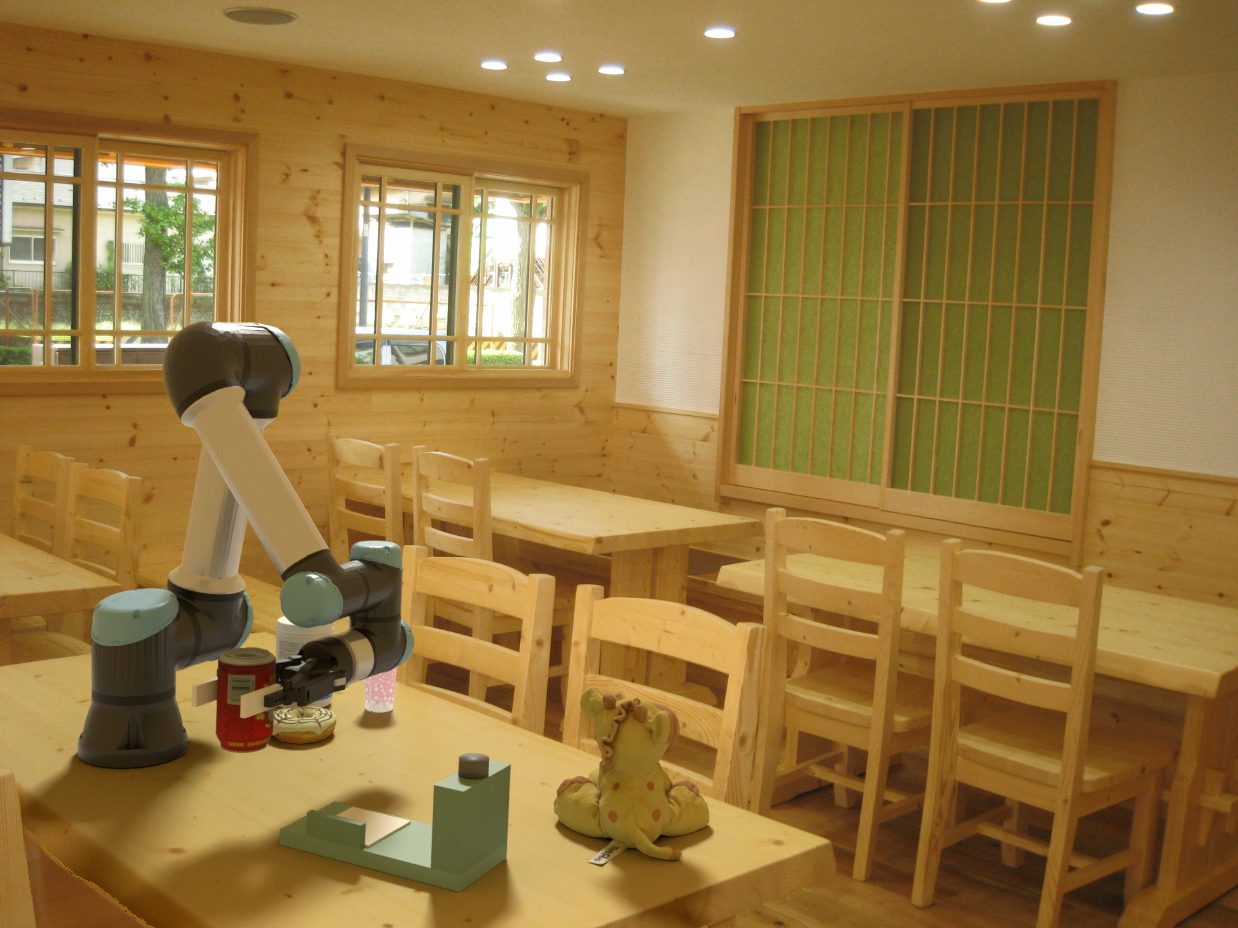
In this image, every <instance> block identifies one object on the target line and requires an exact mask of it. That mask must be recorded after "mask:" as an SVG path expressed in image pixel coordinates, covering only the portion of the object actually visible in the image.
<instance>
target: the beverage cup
mask: <svg viewBox="0 0 1238 928" xmlns="http://www.w3.org/2000/svg"><path fill="white" fill-rule="evenodd" d="M397 670H398V667H396V668H394V669H392V670H391V671H388V672H385V673H380V674H377V675H374V676H371V677H368V678H365V679H364V699H365V700H364V701H365V702H364V703H365V709H366V711H368V712H371V711H373V712H372V713H386V712H387V711H388V712H390V711H393V709H394V701H395V691H396V681H397V673H398V671H397ZM388 712H387V713H388Z"/></svg>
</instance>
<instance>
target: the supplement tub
mask: <svg viewBox="0 0 1238 928" xmlns="http://www.w3.org/2000/svg"><path fill="white" fill-rule="evenodd" d="M276 623H277V624H276V631H275V657H276V660H281V659H287V658H288V657H290V656H296V655H297V654H298V652H299V651H300V649H301V648H302V647H303V646H304V645H305V644H306V643H308V642H310V641H313V640H316V639H319V638H323V637H326V636H329V635H331V634H334V633H335V626H334V622H333V623H331V624H327V625H322V626H316V627H311V628H302V627H298V626H296V625H294V624H292V623H291V622H290V621H289V620H288V619H287V618H286V617H285V616H284V615H283V616H281V617H279V618H278V619H277V622H276ZM279 681H280V679H279ZM281 689H283V687H281ZM333 694H334V693H332V694H329V695H327V696H325V697H323V698H321V699H319V700H317V701H315V702H313V703H311V704H309V705H307V706H317V707H321V708H326V707H327V706H329V705H330V704H331V703H332V701H333V696H334V695H333ZM289 706H297V702H294V703H293V704H291V705H288V706H286V705H283V704H282V705H280V706H279V707H280V708H281V709H282V708H284V707H289Z"/></svg>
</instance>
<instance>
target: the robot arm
mask: <svg viewBox="0 0 1238 928" xmlns="http://www.w3.org/2000/svg"><path fill="white" fill-rule="evenodd" d="M301 368H302V366H301V359H300V355H299V352H298V349H297V347H296V346H295V345H294V343H293V340H292V339H291V338H290V337H289V336H288V335H287V334H286V332H284V331H283V330H281V329H280V328H278V327H275V326H271V325H268V324H262V323H258V322H250V321H249V322H237V321H235V322H229V321H228V322H227V321H213V320H204V321H203V320H202V321H197V322H194V323H191V324H189V325H187V326H183V328H181V329H180V330H178V331H177V333H176V334H174V336H173V337H171V340H170V341H169V343H168V345H167V347H166V349H165V351H164V355H163V359H162V379H163V383H164V386H165V390H166V391H165V392H166V394H167V396H168V399H169V401H170V403H171V405H172V407H173V410H174V411H175V413H176V414H177V416H178V418H179V420H180V422H181V423H182V425H184V426H185V427H187V428H188V427H189V428H193V429H194V430H195V432H196V435H198V438H199V440H201V442H202V444H201V448H200V456H199V462H198V467H197V472H196V479H195V483H194V490H193V496H192V502H191V505H190V511H189V512H190V513H189V518H188V524H187V529H186V534H185V540H184V544H183V545H184V546H183V552H182V558H181V563H180V564H179V565H178V566H177V567H175V568H173V569H172V570H171V571H169V572H168V577H167V581H166V582H167V583H166V587H165V589H164V588H157V587H155V588H154V587H150V588H149V587H148V588H137V589H136V590H132V589H129V590H124V591H121V592H117V593H113V594H111V595H109V596H106V597H105V598H104V597H103V599H101V600H100V601H99V602H97V604H96V606H95V607H94V610H93V612H92V613H93V614H92V625H91V629H90V637H91V697H90V699H91V700H90V701H91V702H90V706H89V709H88V713H87V715H86V717H85V721H84V726H83V730H82V731H81V733H80V734H79V737H78V739H77V757H78V758H79V759H80V760H81V761H82V762H84V763H86V764H89V765H92V766H96V767H102V768H103V767H104V768H111V769H115V768H117V769H119V768H121V769H123V768H124V769H126V768H142V767H148V766H149V767H150V766H153V765H159V764H163V763H166V762H170V761H173V760H175V759H178V758H179V757H181V756H182V755H183V754H185V753H186V752H187V750H188V732H187V729H186V728H185V726H184V724H183V718H182V715H181V710H180V707H179V705H178V701H177V698H176V697H177V695H176V693H177V692H176V691H177V689H176V686H177V672H178V671H181V670H186V669H188V668H191V667H195V666H197V665H200V664H203V663H206V662H214V661H218V659H219V657H220V655H222V654H223V653H225V652H226V651H228V650H229V649H233V648H242V647H243V645H244V644H245V642H246V641H247V640H248V638H249V637H250V634H251V632H252V630H253V626H254V620H255V619H254V618H255V616H254V615H255V614H254V607H253V605H252V604H251V603H250V601H251V598H250V596H249V595H248V593H247V592H246V591H245V590H246V584H247V583H246V582H245V580H244V579H243V578H242V577H241V575H240V573H239V566H240V562H241V556H242V552H243V545H244V540H245V535H246V532H247V531H246V530H247V524H248V523H249V524H250V527H251V528H252V530H253V532H254V533H255V535H256V537H257V538H258V540H259V542H260V544H261V545H262V547H263V549H264V551H265V552H266V553H267V555H268V557H269V559H270V560H271V562H272V564H273V566H274V567H275V569H276V571H277V573H278V574H279V576H280V578H281V580H282V581H283V584H282V586H281V588H280V592H279V602H280V609H281V612H282V614H283V617H284V616H285V617H286V618H287V619H288V620H289V621H290V622H291V623H292V624H294V625H296V626H298V627H302V628H311V627H316V626H322V625H327V624H331V623H333V624H334V623H335V622H337V621H339V620H342V619H345V618H348V619H349V621H348V622H349V626H348V627H349V628H348V629H345V630H342V631H337V632H334V634H331V635H329V636H326V637H323V638H319V639H316V640H313V641H310V642H308V643H306V644H305V645H304V646H303V647H302V648H301V649H300V651H299V652H298V654H297V655H296V656H290V657H288V658H287V659H281V660H276V669H275V684H274V685H271V686H268V687H265V688H262V689H259V690H256V691H253V692H251V693H248V694H245V695H242V696H241V708H240V717H241V718H247V717H250V716H253V715H256V714H258V713H261V712H264V711H266V710H269V709H272V708H274V709H275V708H277V707H280V705H282V704H283V705H286V706H288V705H291V704H293V703H294V702H297V706H299V707H304V706H307V705H309V704H311V703H313V702H315V701H317V700H319V699H321V698H323V697H325V696H327V695H329V694H332V693H333V694H334V693H336V692H337V693H338V692H340V691H345V690H346V688H348V687H349V685H352V684H354V683H355V684H356V683H358V682H360V681H364V680H365V678H368V677H371V676H374V675H377V674H380V673H385V672H388V671H391V670H392V669H394V668H396V667H397V668H398V667H399V666H401V665H403V664H404V663H406V662H407V661H408V660H409V659H410V658H411V656H412V655H413V652H414V649H415V636H414V635H413V633H412V630H411V629H412V628H411V627H410V625H409V624H408V623H407V622H406V621H405V620H403V619H402V600H403V599H402V598H403V597H402V596H403V595H402V592H403V574H404V573H403V572H404V568H403V555H402V554H403V552H402V548H401V546H400V545H399V544H398V543H394V542H392V541H386V540H363V541H357V542H354V544H353V545H352V546H351V547H350V552H349V557H348V561H345V562H342V563H339V562H338V561H337V559H336V557H335V556H334V555H333V553H332V551H331V549H330V548H329V546H328V544H327V543H326V541H325V539H324V538H323V536H322V534H321V532H320V531H319V530H318V529H319V528H317V526H316V524H315V522H314V520H313V519H312V517H311V515H310V514H309V512H308V510H307V509H306V507H305V505H304V504H303V502H302V500H301V499H300V497H299V495H298V494H297V492H296V490H295V488H294V487H293V485H292V483H291V481H290V479H289V478H288V477H287V475H286V473H285V471H284V470H283V468H282V466H281V465H280V463H279V461H278V460H277V458H276V456H275V454H274V453H273V451H272V449H271V447H270V445H269V444H268V443H267V441H266V439H265V438H264V436H265V428H266V427H267V426H268V425H269V424H271V423H272V422H275V421H276V420H277V419H278V415H279V408H280V403H281V400H283V399H285V398H287V397H288V396H289V394H291V393H292V392H294V391H295V389H296V388H297V387H298V384H299V381H300V378H301V373H302V372H301V371H302V370H301ZM279 679H280V681H279ZM217 680H218V668H216V677H213V678H210V679H207V680H203V681H200V682H197V683H195V684H192V685H191V707H195V708H198V707H200V706H203V705H206V704H209V703H212V702H215V701H217ZM281 687H283V689H281Z"/></svg>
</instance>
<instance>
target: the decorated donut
mask: <svg viewBox="0 0 1238 928" xmlns="http://www.w3.org/2000/svg"><path fill="white" fill-rule="evenodd" d="M336 715H337V714H336V713H335V712H334V711H332V710H330V709H328V708H326V707H323V708H321V707H317V706H304V707H299V706H289V707H284V708H282V707H281V708H279V709H277V710H274V722H273V733H272V736H273V737H275V738H276V739H277V740H278V741H280V742H283V743H288V744H295V745H305V744H304V743H307V744H311V742H312V743H317V742H319V741H324V740H325V739H327V738H328V737H330V736H331V735H332V734H333V733H334V731H335V729H336V725H337V716H336Z"/></svg>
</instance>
